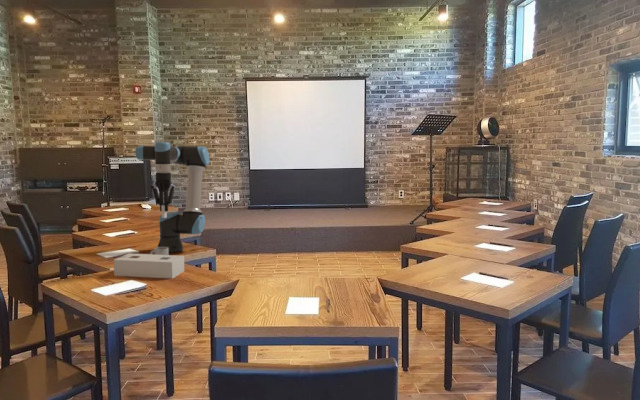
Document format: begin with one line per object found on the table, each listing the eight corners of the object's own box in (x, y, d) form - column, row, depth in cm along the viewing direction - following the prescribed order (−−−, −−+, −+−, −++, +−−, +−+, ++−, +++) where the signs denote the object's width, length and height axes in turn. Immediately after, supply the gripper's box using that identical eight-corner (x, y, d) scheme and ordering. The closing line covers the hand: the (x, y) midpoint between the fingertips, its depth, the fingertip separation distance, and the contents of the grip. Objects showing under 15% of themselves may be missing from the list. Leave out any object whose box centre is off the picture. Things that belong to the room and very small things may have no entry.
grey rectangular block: (129, 268, 247) (128, 253, 246) (184, 271, 243) (184, 255, 242) (114, 275, 233) (113, 259, 232) (172, 278, 229) (172, 262, 228)
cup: (166, 266, 252) (165, 249, 251) (147, 265, 253) (147, 249, 252) (170, 262, 260) (170, 246, 259) (152, 262, 260) (152, 246, 259)
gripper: (147, 172, 242) (149, 218, 245) (171, 172, 240) (173, 219, 243) (154, 171, 249) (155, 216, 252) (178, 172, 248) (179, 216, 250)
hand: (164, 217), depth 247 cm, fingers closed
